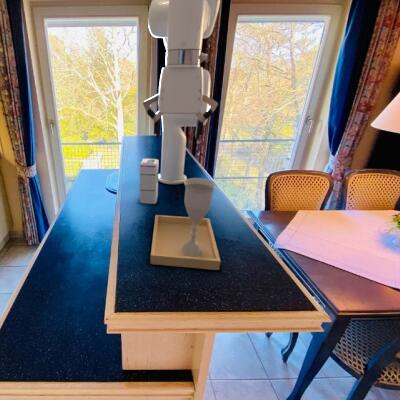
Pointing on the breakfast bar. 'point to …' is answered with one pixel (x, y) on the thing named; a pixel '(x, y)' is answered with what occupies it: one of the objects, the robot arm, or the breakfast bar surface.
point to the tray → (175, 239)
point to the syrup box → (149, 181)
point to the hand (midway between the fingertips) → (177, 137)
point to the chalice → (196, 209)
